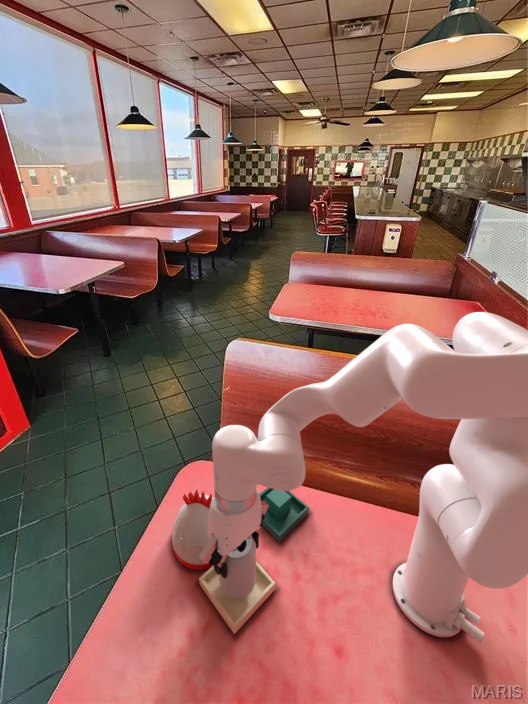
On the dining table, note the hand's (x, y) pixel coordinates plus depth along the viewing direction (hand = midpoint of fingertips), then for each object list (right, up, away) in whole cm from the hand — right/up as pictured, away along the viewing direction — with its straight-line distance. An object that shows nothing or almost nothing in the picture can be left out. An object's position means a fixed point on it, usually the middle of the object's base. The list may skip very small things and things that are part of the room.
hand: (237, 556), depth 65 cm
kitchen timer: (-8, -5, +13) cm, 16 cm away
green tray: (+10, -2, +19) cm, 22 cm away
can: (0, -7, +3) cm, 8 cm away
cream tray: (0, -9, +4) cm, 9 cm away
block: (+10, -2, +19) cm, 22 cm away
